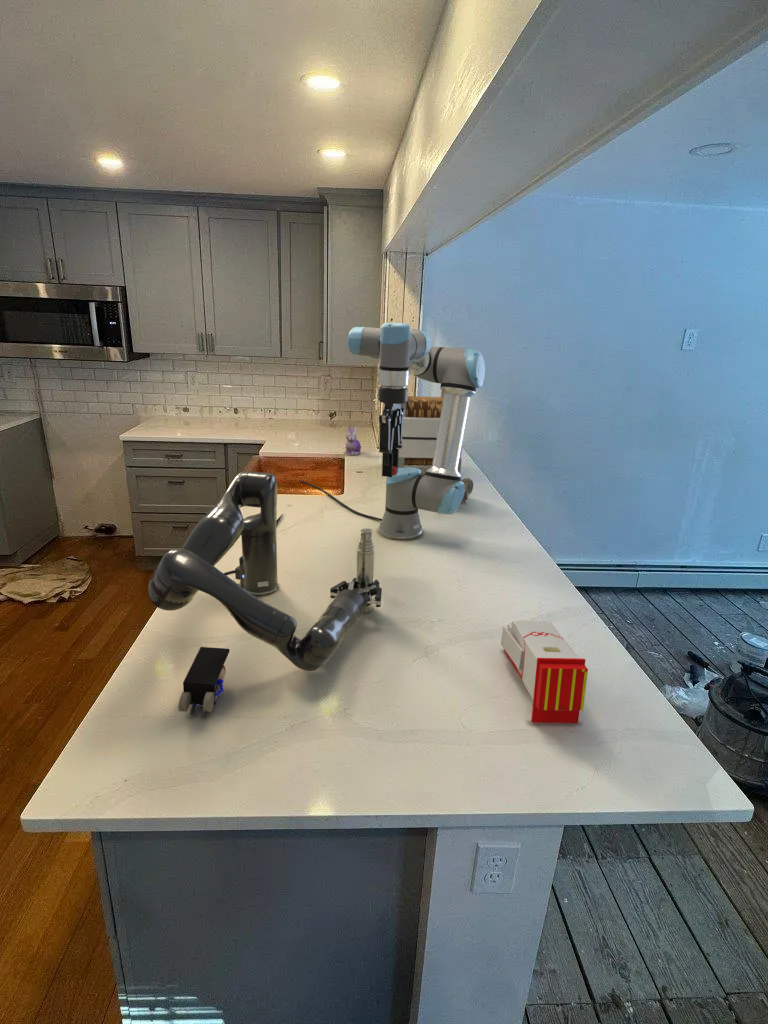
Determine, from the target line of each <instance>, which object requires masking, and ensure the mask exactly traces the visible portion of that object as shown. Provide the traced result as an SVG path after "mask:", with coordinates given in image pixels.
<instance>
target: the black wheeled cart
mask: <svg viewBox="0 0 768 1024" xmlns="http://www.w3.org/2000/svg"><path fill="white" fill-rule="evenodd" d="M229 653H230V648H226V647H210V646H208V647H207V646H200V647H199V650H198V651H197V654H196V656H195V657H194V660H193V662H192V664H191V665H190V667H189V670H188V671H187V673H186V676H185V677H184V680H183V682H182V687H183V689H182V690H183V691H182V693H181V694H180V696H179V700H178V711H179V712H182V713H183V712H185V713H187V712H188V711H189V709H190V711H189V715H190V717H193V716H194V715H195V712H196V709H197V706H201V707H202V711H203V712H204V716H205V717H207V716H209V714H210V713H211V712H212V710H213V709H214V707H215V706H216V705H217V701H216V700H217V699H218V697H219V696H220V695H221V694H222V692H224V678H225V676H226V666H225V663H226V660H227V658H228V656H229ZM217 685H218V687H219V689H218V690H217V689H216V687H217ZM216 690H217V691H216ZM190 706H191V708H190Z"/></svg>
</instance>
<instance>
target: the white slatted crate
mask: <svg viewBox="0 0 768 1024" xmlns="http://www.w3.org/2000/svg"><path fill="white" fill-rule="evenodd" d="M440 393H441V394H440V396H415V395H414V396H413V395H412V396H411V395H408V397H407V402H406V403H403V404H401V408H404V409H405V411H404V416H403V433H402V444H400V445H402V449H401V448H398V449H399V458H398V468H404V467H405V466H406V467H410V466H411V467H417V466H418V467H431V466H432V462H433V456H434V450H435V444H436V438H437V432H438V426H439V420H440V414H441V408H442V402H443V396H444V394H443V392H442V391H441V392H440ZM463 442H464V440H462V444H463ZM462 453H463V445H462V446H461V452H460V457H459V463H458V469H457V470H458V472H459V474H460V475H461V472H462V461H463V460H462Z"/></svg>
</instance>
